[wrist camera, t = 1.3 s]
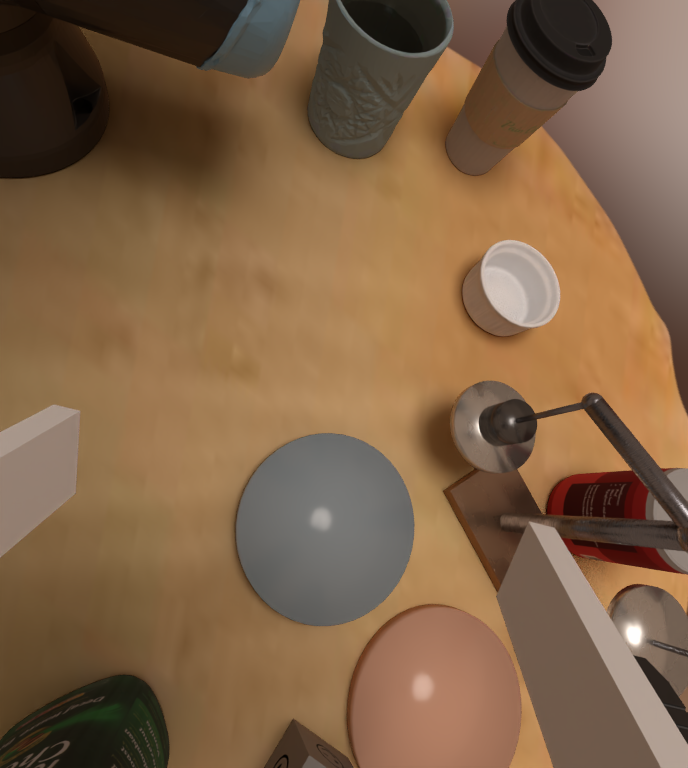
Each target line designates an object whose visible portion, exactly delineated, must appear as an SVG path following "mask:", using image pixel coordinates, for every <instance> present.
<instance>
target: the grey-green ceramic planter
mask: <svg viewBox="0 0 688 768" xmlns="http://www.w3.org/2000/svg"><path fill="white" fill-rule="evenodd" d="M453 28H454V27H453V17H452V13H451V9H450V6H449V4H448V2H447V0H329V4H328V12H327V18H326V23H325V26H324V29H323V45H322V47H321V51H320V54H319V58H318V64H317V68H316V73H315V77H314V79H313V83H312V88H311V93H310V99H309V104H308V117H309V122H310V124H311V126H312V129H313V131H314V132H315V134H316V136H317V137H318V138H319V140H320V141H321V142H322V143H323V144H324V145H325V146H326V147H327V148H329V149H330V150H332V151H334V152H336V153H338V154H340V155H342V156H345V157H348V158H355V159H360V158H367V157H370V156H372V155H374V154H376V153H378V152H379V151H380V150H381V149H382V148H383V147H384V145H385V144H386V142H387V141H388V139H389V138H390V136H391V134H392V133H393V131H394V129H395V126H396V125H397V123H398V122H399V120H400V119H401V117H402V115H403V112H404V111H405V110H406V109H407V107H408V106H409V104H410V103H411V101H412V99H413V98H414V96H415V95H416V93H417V91H418V90H419V88H420V86H421V85H422V83H423V81H424V80H425V78H426V76H427V75H428V73H429V72H430V71H431V70H432V68H433V67H434V66H435V64H436V63H437V61H438V59H439V58H440V56H441V55H442V53H443V52H444V50H445V49H446V47H447V46H448V44H449V42H450V40H451V38H452V34H453Z"/></svg>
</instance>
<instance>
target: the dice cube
mask: <svg viewBox="0 0 688 768" xmlns="http://www.w3.org/2000/svg"><path fill="white" fill-rule="evenodd" d="M264 768H353V766H352V764H351V763H350V761H349V759H348V757H346V756H345V755H343V754H342V753H341V752H339V751H338V750H336V749H335V748H334V747H332V746H331V745H329V744H328V743H327V742H325V741H324V740H322V739H321V738H320V737H318V736H317V735H315V734H314V733H313V732H311V731H310V730H308V729H307V728H306V727H304V726H303V725H301V724H300V723H299V722H297V721H296V720H294V719H293V720H292V722H291V723H290V725H289V727H288V728H287V730H286V732H285V734H284V735H283V737H282V739H281V740H280V742H279V744H278V745H277V747H276V749H275V750H274V752H273V754H272V755H271V757H270V759H269V760H268V762H267V764H266V765H265V767H264Z"/></svg>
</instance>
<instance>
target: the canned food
mask: <svg viewBox="0 0 688 768" xmlns="http://www.w3.org/2000/svg"><path fill="white" fill-rule="evenodd" d="M661 470H662V471H663V472H664V473H665V475H666V476H667V477H668V478H669V480H670V481H671V482H672V483H673V484H674V486H675V487H676V488H677V489H678V491H679V492H680V493H681V494H682V496H683V497H684V498H685V499H686V500H687V502H688V469H684V468H668V469H661ZM547 514H548V515H565V516H585V517H605V518H624V519H644V520H664V521H672V519H671V518H670V517H669V516H668V514H667V513H666V512H665V511H664V509H663V508H662V507H661V506H660V504H659V503H658V502H657V501H656V499H655V498H654V497H653V496H652V494H651V493H650V492H649V491H648V489H647V488H646V487H645V485H644V484H643V483H642V482H641V480H640V479H639V478H638V477H637V475H636V474H635V473H634V472H633V470H632V471H617V472H602V473H586V474H577V475H572V476H570V477H568V478H566V479H564V480H562V481H561V482H560V483H558V484H557V485H556V487H555V488H554V489H553V491H552V493H551V495H550V498H549V501H548V508H547ZM561 539H562V540H563V542H564V544H565V545H566V547H567V549H568V550H569V552H571V553H573V554H575V555H577V556H579V557H583V558H588V559H594V560H600V561H606V562H612V563H618V564H624V565H630V566H636V567H642V568H649V569H655V570H661V571H667V572H673V573H681V574H687V575H688V553H686V552H685V551H676V550H667V549H658V548H649V547H640V546H631V545H622V544H613V543H604V542H595V541H587V540H578V539H569V538H561Z"/></svg>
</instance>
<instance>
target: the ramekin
mask: <svg viewBox="0 0 688 768" xmlns="http://www.w3.org/2000/svg"><path fill="white" fill-rule="evenodd" d="M462 294H463V301H464V305H465V308H466V310H467V312H468V314H469V315H470V317H471V318H472V320H473V321H474V322H475V323H476V324H477V325H478V326H479V327H481V328H482V329H484V330H485V331H487V332H489V333H491V334H493V335H496V336H511V335H514V334H517V333H520V332H522V331H525V330H528V329H531V328H536V327H540V326H542V325H545V324H546V323H548V322H549V321H550V320H551V319H552V318H553V317H554V316H555V314H556V312H557V309H558V306H559V303H560V288H559V283H558V279H557V276H556V274H555V272H554V270H553V268H552V266H551V265H550V263H549V262H548V261H547V259H546V258H545V257H544V256H543V255H542V254H541V253H540V252H538V251H537V250H536V249H535V248H533V247H531V246H530V245H528V244H525V243H523V242H520V241H516V240H505V241H500V242H498V243H496V244H494V245H493V246H491V247H490V248H489V249H488V250H487V252H486V253H485V254H484V256H483V257H482V259H481V260H480V261H479V262H478V263H477V264H476V265H475V266H474V267H473V268H472V269H471V270H470V272H469V273H468V274H467V276H466V278H465V280H464V283H463V290H462Z"/></svg>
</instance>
